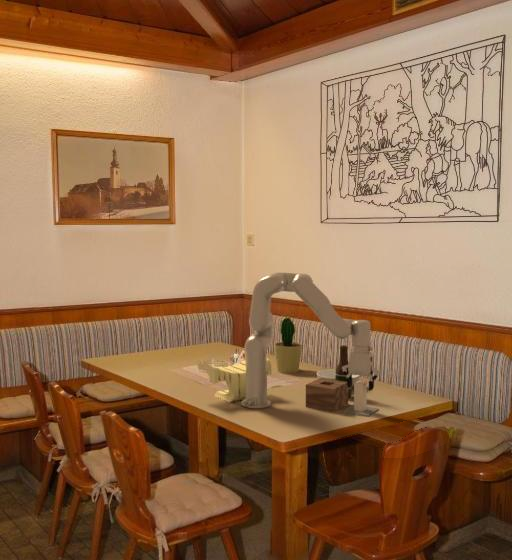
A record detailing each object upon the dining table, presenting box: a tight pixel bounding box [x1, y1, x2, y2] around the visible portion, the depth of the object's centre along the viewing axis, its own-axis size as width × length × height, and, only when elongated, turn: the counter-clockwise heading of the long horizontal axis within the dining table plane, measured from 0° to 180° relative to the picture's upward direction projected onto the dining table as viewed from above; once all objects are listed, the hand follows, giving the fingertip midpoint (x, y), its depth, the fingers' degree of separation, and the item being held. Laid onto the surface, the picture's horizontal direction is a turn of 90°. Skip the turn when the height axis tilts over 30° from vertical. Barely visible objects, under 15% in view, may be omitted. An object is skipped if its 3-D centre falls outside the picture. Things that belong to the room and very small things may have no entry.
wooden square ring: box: [305, 378, 349, 412], centre depth 291 cm, size 14×14×10 cm
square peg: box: [353, 380, 368, 412], centre depth 283 cm, size 4×4×12 cm
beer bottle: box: [335, 344, 353, 399], centre depth 305 cm, size 8×8×24 cm
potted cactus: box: [273, 317, 303, 374], centre depth 357 cm, size 15×15×30 cm
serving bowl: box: [316, 368, 360, 387], centre depth 324 cm, size 21×21×7 cm
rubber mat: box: [341, 403, 380, 417], centre depth 283 cm, size 12×12×1 cm
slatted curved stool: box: [197, 357, 272, 403], centre depth 304 cm, size 30×16×18 cm, turn 122°
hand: (360, 388), depth 282 cm, fingers open, 9 cm apart
